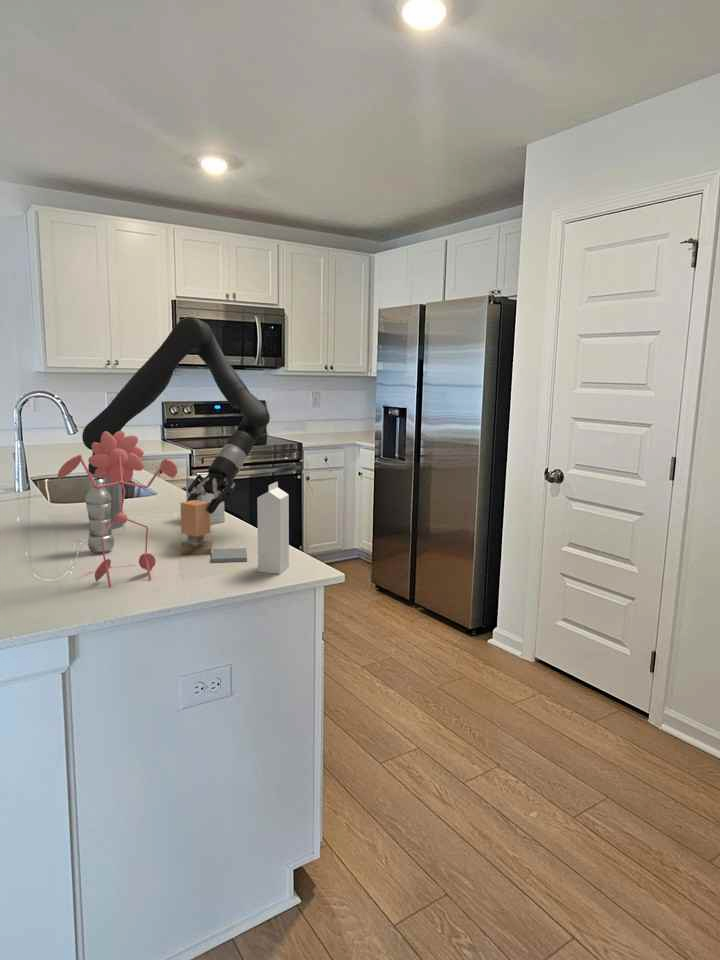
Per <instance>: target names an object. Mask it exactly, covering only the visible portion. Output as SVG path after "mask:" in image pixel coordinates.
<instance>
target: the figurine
mask: <svg viewBox="0 0 720 960" xmlns="http://www.w3.org/2000/svg"><path fill="white" fill-rule="evenodd" d="M138 441H139V438H138V436H137V435H134V434H133V435H132V434H131V435H125V431H123V430H121V431H118V432H116V433H115V434H114V435H113V436H112V435H111V434H110V433H109V432H107V431H106V432H103V433H102V436H101V443H97V442H94V443H92V446H91V447H92V450H91V451H92V453H93V452H94V454H95V455H93V456H92V455H91V456H90V457H88V460H87V462H88V464H89V463H90V464H91V465H93V466H95V467H97V469H96V470H95V476H96V477H98V478H100V477H108V481H109V482H110V484H105V485H100V486H96V484H95V482H94V480H93V478H92V476H91V474H90V472H89V470H88V466H87V465H86V463H85V461H84V459H83V455H82V454H78V455H76V456H73V457H71V458H70V459H69V460H67V461H66V462H65V463H64V464H63V465H62V466H61V467H60V468H59V470H58V473H57V480H59V479H62V478H64V477H66V476H69V474H71V473H72V472H73V471H75V470H76V468H77V467H79V465H80V463H81V465H82V466H83V468H84V470H85V472H86V474H87V476H88V479H89V478H90V480H91V482H92V484H93V485H94V487H95V486H96V487H95V489H97V488H102V487H107V486H111V485H116V484H120V485H121V487H122V502H121V508H120V513H119V514H117V515H116V517H115V521H114V522H113V523H112V524H111V525H110V526H109V527H108V528H107V529H106V530H105V531H104V532H103V533H102V534H101V542H102V550H103V552H102V556H103V561H102V562H101V563H100V564H99V566H98V567H97V568H96V570H95V571H89V572H86V573H85V574H84V575H82V576H79V577H78V578H77V580H79V579H81V578H82V577H84V576H87V575H90V574H92V573H94V578H95V579H94V580H95V581H96V582H98V581H99V580H101V579H102V577H103V576H104V575H105V574H106V579H107V583H108V588H111V587H112V583H111V581H112V580H111V575H110V571H109V570H110V569H114V568H117V566H114V567H113V566H111V562H112V560H111V559H110V558H106V553H105V552H104V544H103V536H102V535H103V534H104V533H105V532H106V531H107V530H108V529H109V528H110V527H111V526H112V525H113V524H114V523H115V522H117V523H118V524H123V525H124V524H126V523H127V521H128V522H131V523H133V524H136V525H138V526H140V527H144V528H145V529H146V531H145V532H146V533H145V551H144V553H142V554H140V556H139V558H138V564H139V566H140V568H141V569H143V570H145V571H146V572H147V576H148V580H152V575H151V572H152V570H153V569H154V567H155V565H156V557H155V556H154V555H153V554H152V553H149V552H148V539H149V538H148V536H149V535H148V534H149V528H148V525H145V524H142V523H139V522H137V521H135V520H131V519H129V518H128V515H127V513H124V512H123V513H122V508H123V507H124V504H125V503H124V502H125V498H126V494H127V493H126V492H127V491H126V488H125V485H128V486H132V487H138V488H143V489H148V488H150V486H151V485H152V484H153V482H154V480H155V479H156V477H157V476H158V475H159V473H160V472H163V474H165V475H166V476H168V477H170V478H171V479H174V478H175V477H176V475H177V474H178V467H177V465H176V463H175V462H174V461H172V460H170V459H168V458H166V457H164V459H163V460H161V461H160V465H159V467H158V468H157V470H156V472H155V473H154V474H153V476H152V478H151V479H150V481H148V484H147V485H142V484H139V483H133V482H131V481H132V480H133V475H134V471H137V472H139V471H143V470H144V466H145V465H144V463H143V461H142V459H141V458H142V457H143V456H144V453H145V452H144V450H143V449H141V448H140V447H139V446H137V444H138ZM120 480H121V481H120ZM135 566H136V564H135V565H134V564H133V565H128V567H135ZM122 567H123V568H124V567H125V565H121V566H118V568H122ZM174 574H175V575H176V573H174Z"/></svg>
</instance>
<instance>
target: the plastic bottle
mask: <svg viewBox="0 0 720 960" xmlns="http://www.w3.org/2000/svg"><path fill="white" fill-rule="evenodd" d="M93 480H94V482H95V484H96V486H100V485H105V478H93ZM96 486H95V487H96ZM90 487H91V489H90ZM95 487H94V485H93V484H92V482H91V480H90V486H89V490H88V492H87V494H86V495H85V499H84V501H85V505H86V511H87V517H88V525H89V528H88V538H87V545H88V546H87V547H88V550H90V552H91V553H97V554H98V553H99V554H101V553H102V554H103V550H102V542H101V534H102V533H103V532H104V531H105V530H106V529H107V528H108V527H109V526H110V525H111V522H110V510H111V495H110V494H109V492H108V491H107V490H106V489H105V487H102V488H97V489H95ZM112 529H113V528H111V527H110V528H109V529H108V530H107V531H106V532H105V533H104V534H103V535H102V536H103V544H104V552H106V553H107V552H110V551H112V550H113V549H114V546H115V545H114V544H115V539H114V538H115V537H114V535H113V531H112Z"/></svg>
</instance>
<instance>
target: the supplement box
mask: <svg viewBox="0 0 720 960" xmlns="http://www.w3.org/2000/svg"><path fill="white" fill-rule="evenodd" d="M200 475H201V476H202V477H204V478H205V477H206V476H207V475H208V473H206V474H200ZM197 476H198V475H192V476H191V475H190V476H186V477H185V486H186V488H185V490H186V501H187V500H188V498H189V496H190V493H189V492H188V491H187V490H188V488H189V487H190V485H191V484H192V483H193V481H194V480H195V478H196V477H197ZM194 489H195V487H194V488H193V489H192V490H194ZM202 489H203V490H204V488H203V487H202ZM199 492H200V491H198V492H197V494H198V493H199ZM212 499H215V498H214V494H212V493H211V494H209V493H207V494H206V495H202V496H200V497H199V498H197V500H199V501H204V502H209V503H210V502H211V500H212ZM225 521H226V519H225V502H222V503H220V504H219V505H218V507H217V508H216V510H215V511H214V512H213V513H212V514H210V525H214V524H215V525H216V524H220V523H225Z"/></svg>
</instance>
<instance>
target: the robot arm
mask: <svg viewBox="0 0 720 960" xmlns="http://www.w3.org/2000/svg"><path fill="white" fill-rule="evenodd" d="M191 351H193V352H194V353H195V354H196V355H198V357H200V359H201V360H202V361H203V363H204V364H205V365H206V366H207V369H209V371H210V373H211V375H212V378H213V380H214V382H215V384H216V386H217V388H218V389H219V391H220V393H221V394H222V396H223V397H224V398H225V399H226V401H227V402H228V403H229V405H230V406H231V407H232V408H233V409H238V410H239V411H240V412H241V413H242V414H243V417H242V420H241V421H240V423H239V425H238V426H237V428H236V429H235V431H234V432H233V433H232V434H231V436H230V437H228V440H227V441H226V443H225V445H224V446H223V447H222V448H221V449H220V451H219V452H218V453H217V455H216V457H215V458H214V459H213V461H212V463H211V464H210V465H209V467H208V469H207V470H208V473H207V474H208V475H207V476H206V477H205V478H204V477H202V476H201V475H202V474H198V475H196V476H197V477H196V478H195V480H194V481H193V483H192V484H191V485H190V487H189V488H188V490H187V491H188V492H189V493H190V496H189V498H188V500H187V499H186V501H191V500H197V498H199V497H200V496H202V495H206V494H207V493H209V494H211V493H212V494H214V498H215V499H212V500H211V502H210V504H209V505H208V507H207V508H206V510H207V511H208V512H209V513H210V514H212V513H213V512H214V511H215V510H216V508H217V507H218V505H219V504H220V503H222V502H224V503H228V502H229V500H230V499H231V497H232V495H233V494H234V492H235V490H236V488H237V484H236V483H235V481H234V479H235V478H236V477H237V475H238V473H239V472H240V470H241V469H242V467H243V465H244V464H245V461H246V459H247V458H248V456H249V455H250V453H251V452H252V449H253V448H254V445H255V443H256V442H257V440H258V439H259V437H260V436H261V435H262V433H264V432H263V431H264V430H265V429H266V427H267V426H268V424H269V423H270V419H271V417H270V413H269V410H268V408H267V407H266V406H265V404H263V402H262V401H260V399H259V398H257V397H256V396H255V395H254V394H253V393H251V391H250V390H249V388H248V387H247V386H246V384H245V383H244V381H243V380H242V378H241V377H240V376H239V375H238V373H237V372H236V370H235V369H234V368H233V366H232V365H231V364H230V362H229V360H228V359H227V357H226V356H225V354H224V353H223V350H222V348H221V347H220V345H219V343H218V340H217V339H216V336H215V335H214V333H213V330H212V328H211V326H210V325H209V324H207V323H206V322H205V321H203V320H201V319H199V318H197V317H195V316H194V317H193V316H187V317H183V318H182V319H181V320H179V321H178V322H177V323H176V325H175V326H174V327H173V329H172V330H171V332H170V333H169V334H168V336H167V337H166V338H165V340H164V341H163V342H162V344H161V345H160V346H159V348H158V349H157V350H156V351H155V352H154V353H153V354H152V355H151V356H150V357H149V358H148V360H147V361H146V362H145V363H144V364H143V365H142V366H141V367H140V368H139V369H138V370H137V371H136V372H135V373H134V375H133V376H131V378H130V379H129V380H128V381H127V383H126V384H125V385H124V386H122V389H121V390H120V391H119V392H118V393H117V395H115V397H114V398H113V399H112V401H111V402H110V403H109V405H107V406H106V407H105V408H104V409H103V410H102V411H101V412H100V413H99V414H98V415H96V416H95V418H93V419H92V420H91V421H90V422H88V423H87V424H86V425H85V427H84V428H83V432H82V435H81V437H82V442H83V445H84V446H85V447H86V448H87V449H89V450H90V451H92V447H91V446H92V443H94V442H97V443H101V436H102V433H103V432H106V431H107V432H109V433H110V434H111V435H112V436H113V435H114V434H115V433H116V432H118V431H122V429H123V428H124V426H126V424H128V423H129V421H132V419H134V418H135V417H136V416H138V415H139V414H140V413H142V412H143V411H144V410H145V409H147V408H149V406H151V405H152V404H153V403H154V402H155V401H156V400H157V398H159V396H160V395H161V394H163V392H164V391H165V390H166V389H167V387H168V385H169V383H170V382H171V379H172V377H173V374H174V372H175V370H176V368H177V366H178V365H179V364H180V362H181V361H182V360H183V359H185V357H186V356H187V355H188V354H190V352H191ZM93 455H95V454H94V452H93V451H92V455H91V456H93ZM87 465H88V466H87V468H88V470H89V472H90V474H91V476H92V478H98V477H96V476H95V470H96V469H97V467H95V466H93V465H91V464H90V463H89V462H88V464H87ZM100 478H105V484H110V482H109V481H108V477H100ZM88 481H89V483H88V485H89V490H90V489H91V487H90V478H89V477H88ZM120 481H121V480H120ZM194 487H195V489H194V490H192V489H193V488H194ZM202 487H203V488H204V490H203V489H202ZM105 489H106V490H107V491H108V492H109V494H110V495H111V510H110V522H111V524H112V523H113V522H114V521H115V517H116V515H117V514H119V513H120V508H121V502H122V496H123V489H122V486H121V485H120V484H116V485H111V486H107V487H105ZM198 491H200V492H199V493H198V494H197V492H198ZM122 513H124V511H123V508H122ZM123 525H124V524H118V523H117V522H115V523H114V524H113V525H112V526H111V529H116V528H120V527H122V526H123Z"/></svg>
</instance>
